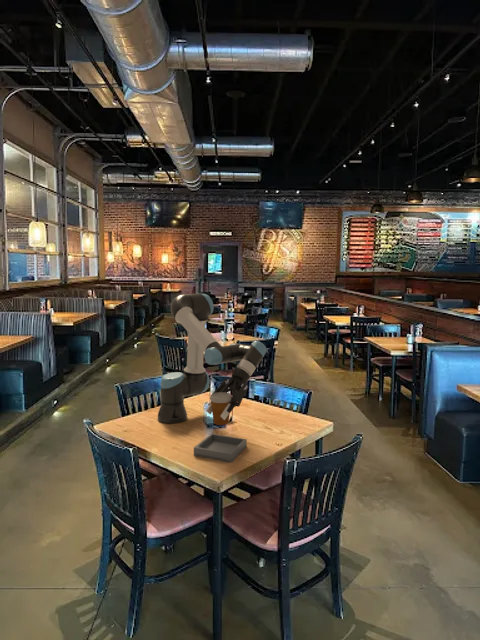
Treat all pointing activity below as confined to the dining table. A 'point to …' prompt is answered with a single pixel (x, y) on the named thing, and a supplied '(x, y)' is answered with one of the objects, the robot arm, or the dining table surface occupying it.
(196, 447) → the tray
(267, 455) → the dining table surface
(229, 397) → the disposable coffee cup
